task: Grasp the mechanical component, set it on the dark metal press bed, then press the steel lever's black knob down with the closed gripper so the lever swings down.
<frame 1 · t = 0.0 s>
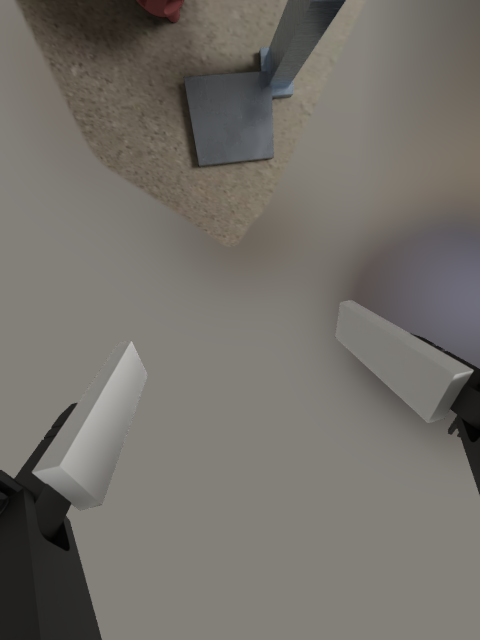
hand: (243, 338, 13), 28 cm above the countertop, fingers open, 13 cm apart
press: (233, 124, 29), on the countertop
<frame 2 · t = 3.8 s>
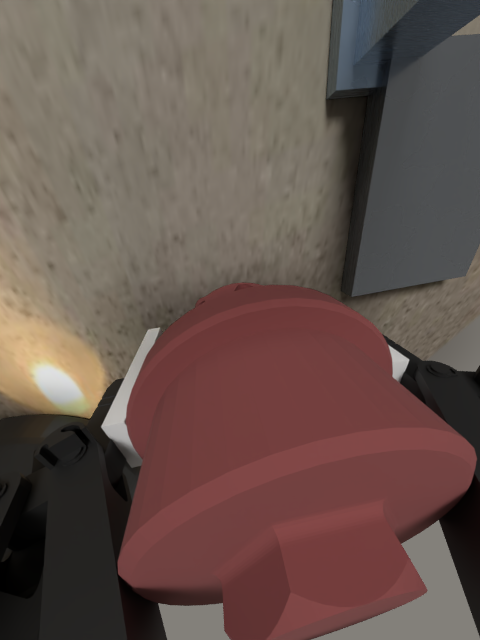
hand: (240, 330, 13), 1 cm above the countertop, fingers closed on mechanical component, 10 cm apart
press: (421, 188, 12), on the countertop
mechanical component: (237, 320, 15), on the countertop, touching gripper
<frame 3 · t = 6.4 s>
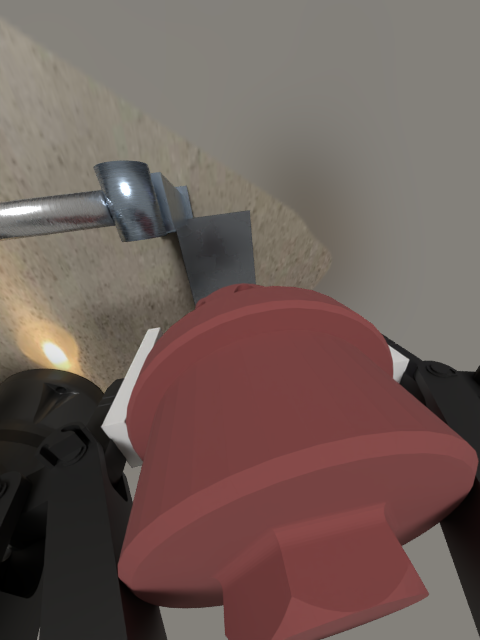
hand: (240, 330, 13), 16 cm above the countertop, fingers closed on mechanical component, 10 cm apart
press: (219, 260, 27), on the countertop
mechanical component: (237, 321, 15), point 15 cm above the countertop, touching gripper
when the fingers open (4 cm above the countertop, at t = 9.1 s): mechanical component drops 1 cm, resting on press.
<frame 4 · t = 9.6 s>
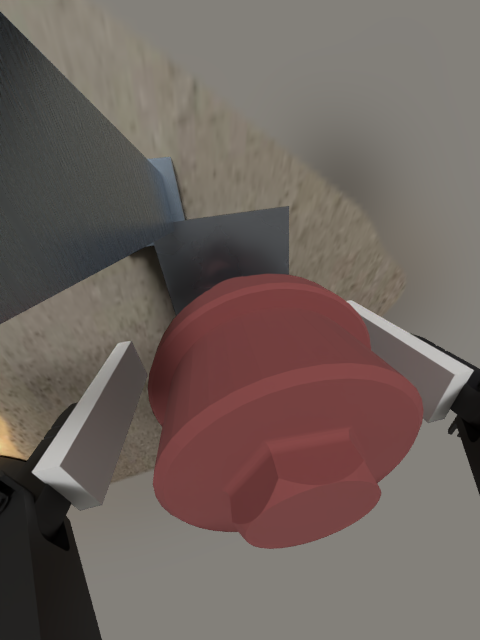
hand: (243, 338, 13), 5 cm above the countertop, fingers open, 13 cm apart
press: (230, 290, 16), on the countertop
mechanical component: (238, 312, 16), point 1 cm above the countertop, touching press
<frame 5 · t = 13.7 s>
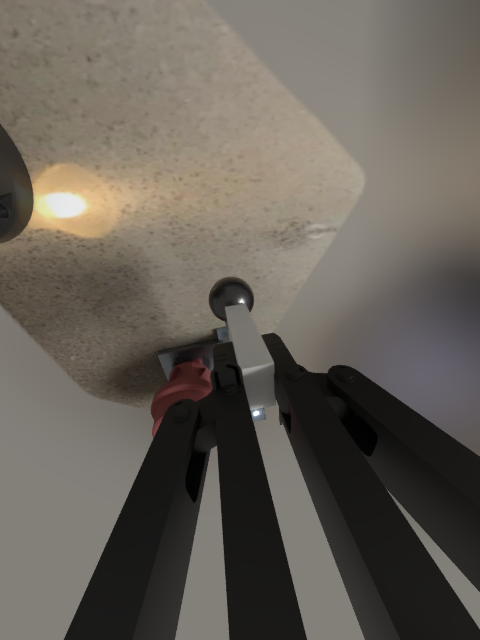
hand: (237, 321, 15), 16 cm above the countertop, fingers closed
press: (199, 363, 36), on the countertop
mechanical component: (191, 370, 35), point 1 cm above the countertop, touching press
lever: (240, 361, 18), point 15 cm above the countertop, hinge at 2.6°, touching gripper
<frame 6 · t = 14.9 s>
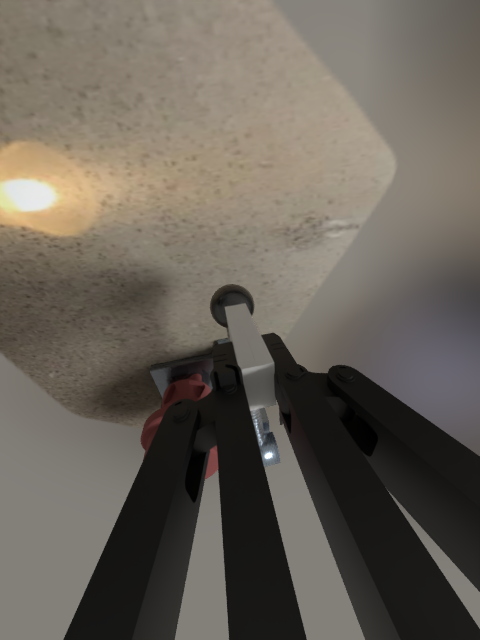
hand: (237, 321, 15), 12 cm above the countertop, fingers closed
press: (198, 378, 32), on the countertop
mechanical component: (188, 386, 31), point 1 cm above the countertop, touching press
lever: (245, 378, 17), point 12 cm above the countertop, hinge at 24.1°, touching gripper, press
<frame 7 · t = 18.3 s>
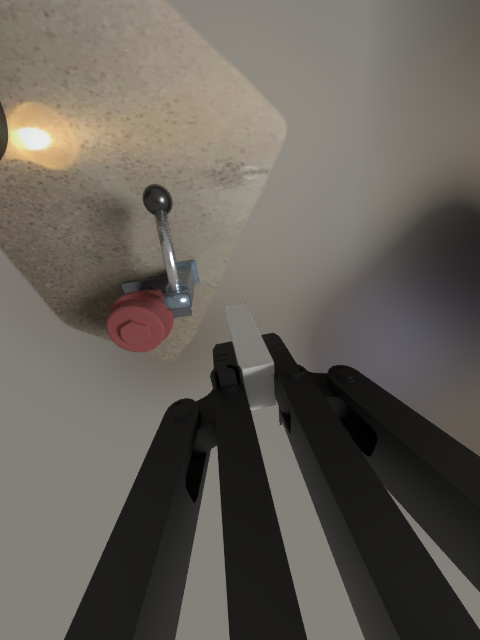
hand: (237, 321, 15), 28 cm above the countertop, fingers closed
press: (160, 298, 42), on the countertop
mechanical component: (152, 302, 41), point 1 cm above the countertop, touching press
lever: (167, 249, 26), point 12 cm above the countertop, hinge at 23.0°, touching press
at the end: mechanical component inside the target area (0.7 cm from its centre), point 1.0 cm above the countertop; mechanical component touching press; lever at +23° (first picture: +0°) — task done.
